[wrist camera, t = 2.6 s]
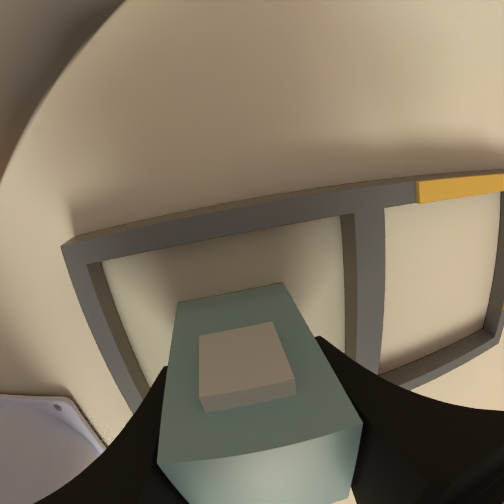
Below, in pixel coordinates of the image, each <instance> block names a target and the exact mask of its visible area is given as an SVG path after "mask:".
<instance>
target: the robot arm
mask: <svg viewBox="0 0 504 504" xmlns="http://www.w3.org/2000/svg"><path fill="white" fill-rule="evenodd" d="M314 338H315V339H316V341H317V343H318V345H319V346H320V348H321V350H322V352H323V353H324V355H325V357H326V359H327V360H328V362H329V364H330V366H331V367H332V369H333V371H334V373H335V374H336V376H337V378H338V380H339V381H340V383H341V385H342V387H343V389H344V390H345V392H346V394H347V396H348V397H349V399H350V401H351V403H352V404H353V406H354V408H355V410H356V412H357V413H358V415H359V417H360V419H361V421H362V422H363V426H362V432H361V438H360V444H359V449H358V454H357V460H356V464H355V469H354V474H353V478H352V483H351V488H352V491H353V494H354V497H355V500H356V503H357V504H504V411H497V410H484V409H475V408H469V407H463V406H458V405H453V404H449V403H445V402H441V401H438V400H435V399H431V398H428V397H425V396H422V395H419V394H417V393H414V392H411V391H409V390H407V389H404V388H402V387H400V386H398V385H395V384H393V383H391V382H389V381H387V380H385V379H384V378H382V377H380V376H378V375H376V374H375V373H373V372H371V371H370V370H368V369H366V368H365V367H363V366H362V365H360V364H359V363H357V362H356V361H354V360H353V359H351V358H350V357H348V356H347V355H345V354H344V353H343V352H341V351H340V350H339V349H337V348H336V347H335V346H333V345H332V344H331V343H329V342H328V341H327V340H325V339H324V338H323V337H321V336H317V337H314ZM167 369H168V366H164V367H163V369H162V370H161V372H160V373H159V375H158V377H157V378H156V380H155V382H154V383H153V385H152V387H151V388H150V390H149V392H148V393H147V395H146V396H145V398H144V399H143V401H142V403H141V404H140V406H139V407H138V409H137V410H136V412H135V413H134V415H133V416H132V417H131V419H130V420H129V421H128V423H127V424H126V426H125V427H124V428H123V430H122V431H121V432H120V433H119V435H118V436H117V437H116V438H115V440H114V441H113V442H112V443H111V444H110V445H109V446H108V447H107V448H106V447H105V446H104V444H103V443H102V442H101V440H100V439H99V438H98V437H97V435H96V434H95V432H94V431H93V430H92V428H91V427H90V426H89V424H88V423H87V421H86V420H85V418H84V417H83V416H82V414H81V413H80V411H79V410H78V408H77V407H76V405H75V404H74V402H73V401H72V400H71V399H69V398H67V397H63V396H23V395H7V394H0V504H189V503H188V502H187V500H186V499H185V498H184V497H183V496H182V495H181V493H180V492H179V491H178V490H177V489H176V487H175V486H174V485H173V484H172V482H171V481H170V480H169V479H168V477H167V476H166V475H165V473H164V472H163V471H162V470H161V468H160V467H159V466H158V464H157V456H158V445H159V435H160V425H161V416H162V407H163V399H164V391H165V383H166V376H167Z"/></svg>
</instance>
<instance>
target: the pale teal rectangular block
mask: <svg viewBox="0 0 504 504" xmlns="http://www.w3.org/2000/svg"><path fill="white" fill-rule="evenodd" d="M362 426H363V422H362V421H361V419H360V417H359V415H358V413H357V412H356V410H355V408H354V406H353V404H352V403H351V401H350V399H349V397H348V396H347V394H346V392H345V390H344V389H343V387H342V385H341V383H340V381H339V380H338V378H337V376H336V374H335V373H334V371H333V369H332V367H331V366H330V364H329V362H328V360H327V359H326V357H325V355H324V353H323V352H322V350H321V348H320V346H319V345H318V343H317V341H316V339H315V338H314V336H313V334H312V332H311V331H310V329H309V327H308V325H307V324H306V322H305V320H304V318H303V317H302V315H301V313H300V312H299V310H298V308H297V306H296V305H295V303H294V301H293V299H292V298H291V296H290V294H289V293H288V291H287V289H286V287H285V286H284V284H283V283H278V284H273V285H268V286H263V287H259V288H254V289H249V290H244V291H239V292H234V293H228V294H223V295H218V296H213V297H207V298H202V299H197V300H191V301H186V302H180V303H178V305H177V311H176V317H175V323H174V329H173V335H172V342H171V348H170V355H169V362H168V369H167V376H166V383H165V391H164V399H163V407H162V416H161V425H160V435H159V445H158V456H157V464H158V466H159V467H160V468H161V470H162V471H163V472H164V473H165V475H166V476H167V477H168V479H169V480H170V481H171V482H172V484H173V485H174V486H175V487H176V489H177V490H178V491H179V492H180V493H181V495H182V496H183V497H184V498H185V499H186V500H187V502H188V503H189V504H331V503H334V502H337V501H340V500H343V499H346V498H348V495H349V491H350V487H351V483H352V478H353V474H354V469H355V464H356V460H357V454H358V449H359V444H360V438H361V432H362Z"/></svg>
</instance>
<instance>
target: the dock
mask: <svg viewBox="0 0 504 504" xmlns="http://www.w3.org/2000/svg"><path fill="white" fill-rule="evenodd" d="M500 191H501V213H500V229H499V240H498V250H497V258H496V266H495V273H494V279H493V285H492V290H491V296H490V301H489V305H488V310H487V314H486V319H485V323H484V327H483V329H481V330H479V331H478V332H476V333H474V334H472V335H470V336H468V337H466V338H464V339H462V340H460V341H458V342H456V343H454V344H452V345H450V346H448V347H446V348H444V349H442V350H439V351H437V352H435V353H433V354H431V355H428V356H426V357H424V358H421V359H419V360H417V361H414V362H412V363H410V364H407V365H405V366H402V367H400V368H397V369H395V370H392V371H389V372H387V373H384V374H381V375H379V376H380V377H382V378H384V379H385V380H387V381H389V382H391V383H393V384H395V385H398V386H400V387H402V388H404V389H407V390H409V391H410V390H412V389H414V388H416V387H419V386H421V385H423V384H425V383H427V382H429V381H431V380H434V379H436V378H438V377H440V376H442V375H444V374H446V373H448V372H449V371H451V370H453V369H455V368H457V367H459V366H461V365H463V364H464V363H466V362H468V361H470V360H472V359H473V358H475V357H477V356H478V355H480V354H482V353H484V352H485V351H487V350H488V349H490V348H492V347H493V346H495V345H497V344H498V343H499V340H500V337H501V334H502V330H503V327H504V169H502V170H484V171H469V172H456V173H443V174H432V175H421V176H411V177H402V178H393V179H384V180H375V181H367V182H359V183H351V184H344V185H336V186H329V187H322V188H315V189H309V190H302V191H296V192H289V193H283V194H277V195H271V196H265V197H259V198H253V199H247V200H242V201H236V202H231V203H225V204H220V205H215V206H210V207H204V208H199V209H194V210H189V211H184V212H180V213H175V214H170V215H165V216H161V217H156V218H151V219H147V220H142V221H138V222H133V223H129V224H125V225H120V226H116V227H112V228H108V229H104V230H100V231H96V232H91V233H87V234H84V235H80V236H76V237H73V238H72V239H70V240H69V241H67V242H66V243H64V244H63V245H62V246H60V247H61V250H62V254H63V257H64V260H65V263H66V266H67V269H68V272H69V275H70V278H71V281H72V284H73V287H74V290H75V292H76V295H77V298H78V300H79V303H80V306H81V308H82V311H83V313H84V316H85V318H86V320H87V323H88V325H89V328H90V330H91V332H92V335H93V337H94V339H95V341H96V344H97V346H98V348H99V350H100V352H101V354H102V356H103V359H104V361H105V363H106V365H107V367H108V369H109V371H110V373H111V375H112V377H113V379H114V380H115V382H116V384H117V386H118V388H119V390H120V392H121V394H122V395H123V397H124V399H125V401H126V403H127V404H128V406H129V408H130V410H131V411H132V413H133V415H134V413H135V412H136V410H137V409H138V407H139V406H140V404H141V403H142V401H143V399H144V398H145V396H146V395H147V393H148V392H149V390H150V388H149V386H148V384H147V382H146V380H145V378H144V375H143V373H142V371H141V369H140V367H139V364H138V362H137V360H136V358H135V355H134V353H133V351H132V348H131V346H130V343H129V341H128V339H127V336H126V334H125V331H124V329H123V326H122V323H121V321H120V318H119V315H118V313H117V310H116V307H115V305H114V302H113V299H112V296H111V293H110V290H109V287H108V284H107V281H106V278H105V275H104V272H103V269H102V266H101V262H100V261H105V260H110V259H114V258H119V257H124V256H129V255H133V254H138V253H143V252H148V251H153V250H158V249H163V248H168V247H173V246H178V245H183V244H188V243H193V242H198V241H203V240H208V239H213V238H218V237H224V236H229V235H234V234H239V233H245V232H250V231H255V230H261V229H266V228H272V227H277V226H283V225H288V224H294V223H299V222H305V221H310V220H316V219H322V218H328V217H333V216H339V215H341V225H342V240H343V257H344V280H345V355H347V356H348V357H350V358H351V359H353V360H354V361H356V362H357V363H359V364H360V365H362V366H363V367H365V368H366V369H368V370H370V371H371V372H373V373H375V374H376V375H378V370H379V361H380V352H381V341H382V329H383V315H384V295H385V216H384V208H387V207H393V206H399V205H405V204H412V203H419V204H421V203H427V202H434V201H440V200H447V199H453V198H460V197H466V196H473V195H480V194H487V193H493V192H500Z"/></svg>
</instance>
